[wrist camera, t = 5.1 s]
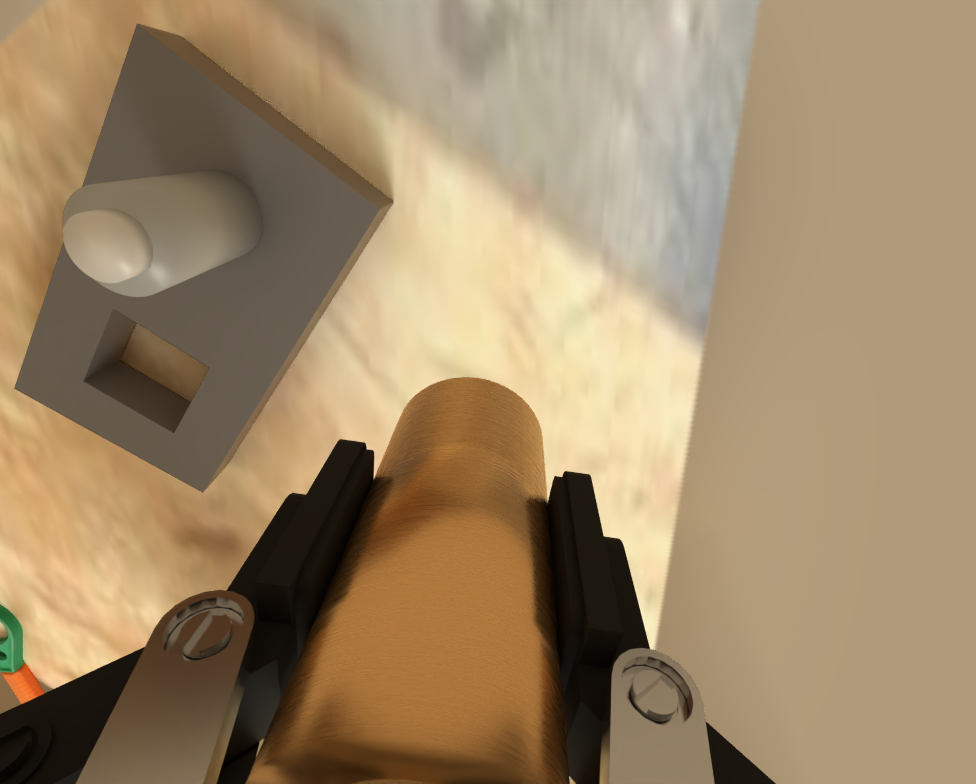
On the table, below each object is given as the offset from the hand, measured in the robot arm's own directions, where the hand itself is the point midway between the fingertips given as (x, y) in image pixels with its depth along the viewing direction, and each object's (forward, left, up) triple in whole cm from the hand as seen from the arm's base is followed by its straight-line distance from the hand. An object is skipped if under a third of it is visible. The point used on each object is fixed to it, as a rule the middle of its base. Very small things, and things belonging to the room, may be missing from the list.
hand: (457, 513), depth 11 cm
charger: (-11, +13, -19) cm, 26 cm away
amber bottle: (0, 0, -3) cm, 3 cm away
